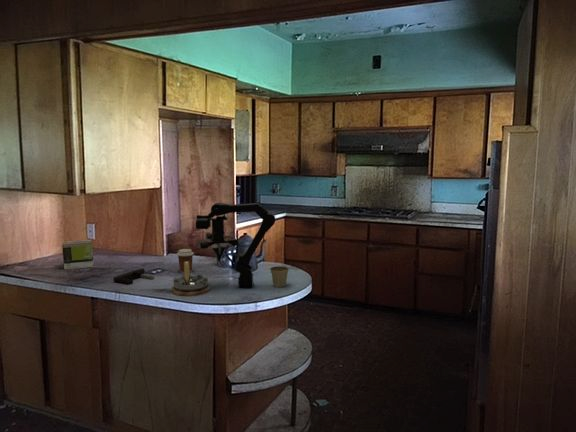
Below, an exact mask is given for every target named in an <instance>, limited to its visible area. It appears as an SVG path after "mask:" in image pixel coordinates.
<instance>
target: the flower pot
mask: <svg viewBox="0 0 576 432" xmlns="http://www.w3.org/2000/svg"><path fill="white" fill-rule="evenodd" d="M289 270H290V268H289V267H288V266H284V265H283V266H282V265H279V266H278V265H276V266H275V265H274V266H272V267H270V268H269V271H270V273H271V277H272V278H271V279H272V285H273V287H276V288H284V287H286V285H287V279H288V273H289Z"/></svg>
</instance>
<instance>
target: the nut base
mask: <svg viewBox="0 0 576 432" xmlns="http://www.w3.org/2000/svg"><path fill="white" fill-rule="evenodd" d="M208 291H209V292H210V291H211V285H210V283H208V287H207V288H205V289H203V290H199V291H191V292H184V291H178V290H175V289H174V285H172V287H171V293H172V294H173V295H175V296H180V297H194V296H193V295H195V296H200V295H199V294H201V295H204V294H203V293H205V294H207V293H209V292H208ZM206 292H207V293H206Z"/></svg>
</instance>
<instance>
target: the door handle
mask: <svg viewBox="0 0 576 432" xmlns="http://www.w3.org/2000/svg"><path fill="white" fill-rule="evenodd" d="M145 272H146V271H145V268H139V269H138V268H137V269H135V270H132V271H128V272H126V273H123V274H119V275H118V274H117V275H116V276H114V277H113V282H115V283H120V284H125V285H127V286H128V285H132V284H134V281H135V280H138V279H145V280H150V281H153V280H155V276H154V275H149V274H145Z"/></svg>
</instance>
